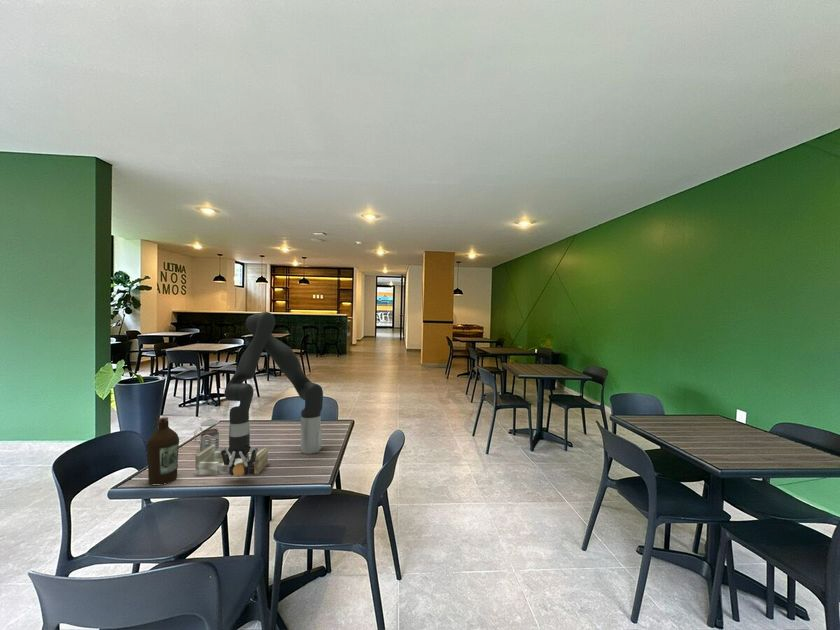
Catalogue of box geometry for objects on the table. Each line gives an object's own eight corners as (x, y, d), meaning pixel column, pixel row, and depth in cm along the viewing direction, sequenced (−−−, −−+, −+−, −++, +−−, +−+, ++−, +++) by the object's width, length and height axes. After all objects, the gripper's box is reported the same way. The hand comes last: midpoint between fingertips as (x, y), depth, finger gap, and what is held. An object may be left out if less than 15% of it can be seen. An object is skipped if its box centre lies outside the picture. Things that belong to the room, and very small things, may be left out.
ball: (248, 472, 149) (248, 460, 149) (243, 478, 144) (243, 465, 144) (236, 472, 149) (236, 460, 149) (230, 478, 144) (230, 466, 144)
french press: (224, 450, 177) (224, 399, 177) (197, 457, 169) (197, 404, 168) (217, 445, 184) (217, 396, 184) (190, 452, 175) (191, 400, 175)
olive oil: (140, 483, 144) (140, 420, 143) (168, 472, 153) (168, 413, 153) (157, 488, 139) (157, 423, 139) (184, 477, 149) (185, 416, 149)
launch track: (268, 462, 164) (269, 445, 164) (257, 475, 152) (257, 456, 152) (211, 462, 164) (212, 444, 163) (195, 475, 151) (195, 455, 151)
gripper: (261, 429, 150) (261, 470, 151) (226, 429, 150) (226, 470, 150) (253, 436, 143) (253, 478, 143) (216, 436, 142) (216, 479, 143)
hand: (239, 474), depth 147 cm, fingers closed on ball, 5 cm apart
